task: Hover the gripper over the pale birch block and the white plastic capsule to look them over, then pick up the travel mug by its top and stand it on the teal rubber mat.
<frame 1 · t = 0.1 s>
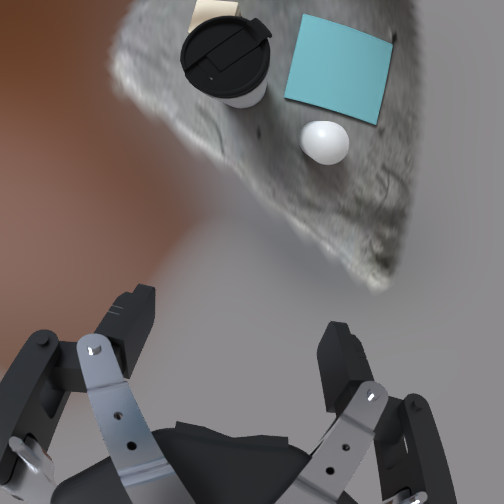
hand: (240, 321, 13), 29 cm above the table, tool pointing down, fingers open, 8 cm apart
white plastic capsule: (316, 139, 36), on the table
teal mat: (340, 67, 31), on the table
birch block: (218, 28, 29), on the table
travel mug: (243, 85, 33), on the table
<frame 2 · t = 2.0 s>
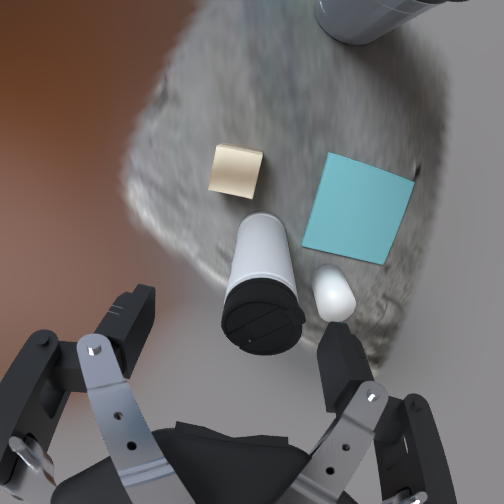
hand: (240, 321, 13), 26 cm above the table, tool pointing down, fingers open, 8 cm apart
white plastic capsule: (327, 279, 42), on the table
teal mat: (359, 211, 37), on the table
birch block: (238, 165, 35), on the table
travel mug: (262, 231, 39), on the table
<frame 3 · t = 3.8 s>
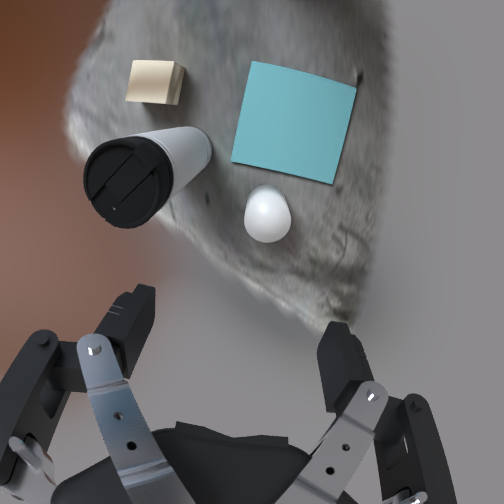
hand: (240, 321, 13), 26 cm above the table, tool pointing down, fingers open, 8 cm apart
white plastic capsule: (266, 202, 37), on the table
teal mat: (294, 121, 32), on the table
birch block: (163, 85, 31), on the table
travel mug: (189, 149, 34), on the table
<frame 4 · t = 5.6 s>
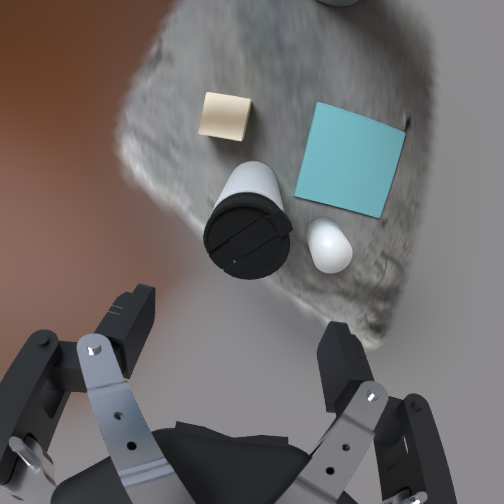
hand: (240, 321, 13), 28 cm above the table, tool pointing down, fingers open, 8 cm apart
white plastic capsule: (322, 233, 41), on the table
teal mat: (351, 161, 36), on the table
birch block: (228, 116, 34), on the table
travel mug: (254, 182, 38), on the table
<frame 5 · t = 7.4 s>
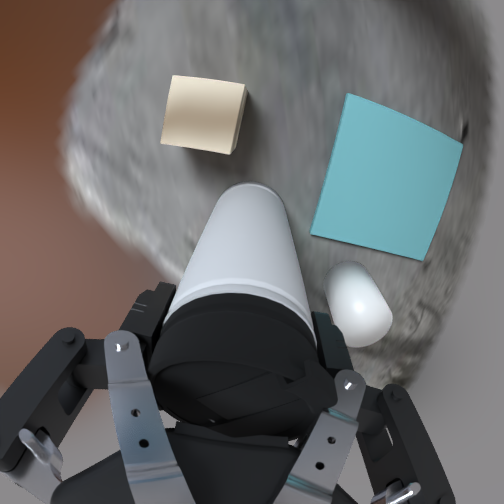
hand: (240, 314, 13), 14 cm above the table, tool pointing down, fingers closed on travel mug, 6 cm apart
white plastic capsule: (346, 282, 29), on the table
teal mat: (392, 183, 24), on the table
birch block: (212, 114, 22), on the table
travel mug: (251, 212, 26), on the table, touching gripper
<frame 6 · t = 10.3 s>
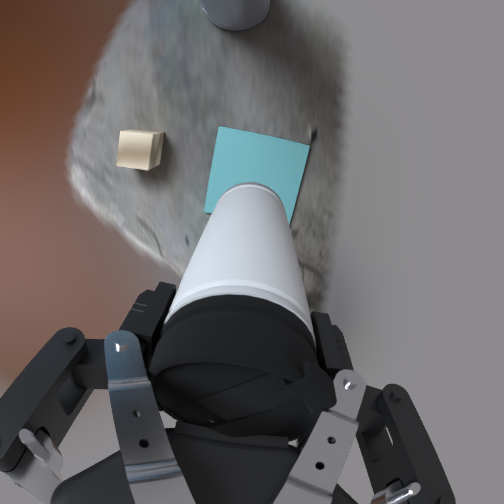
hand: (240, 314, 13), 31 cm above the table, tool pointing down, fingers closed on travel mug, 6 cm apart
teal mat: (255, 178, 41), on the table
birch block: (147, 146, 40), on the table
travel mug: (251, 213, 26), point 17 cm above the table, touching gripper
when the fingers open (16 cm above the table, at t = 13.7 s): travel mug drops 1 cm, resting on teal mat.
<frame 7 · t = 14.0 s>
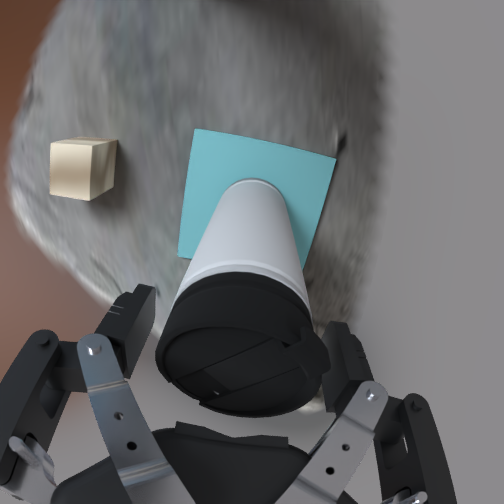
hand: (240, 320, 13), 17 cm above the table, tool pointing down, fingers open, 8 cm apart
teal mat: (251, 207, 28), on the table
birch block: (95, 161, 26), on the table
travel mug: (253, 207, 27), resting on teal mat
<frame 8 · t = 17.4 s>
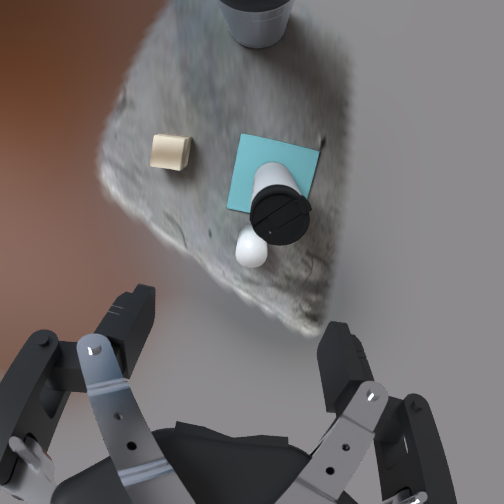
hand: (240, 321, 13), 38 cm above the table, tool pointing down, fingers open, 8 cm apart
white plastic capsule: (252, 236, 52), on the table
teal mat: (272, 178, 47), on the table
birch block: (175, 149, 46), on the table
travel mug: (273, 178, 47), resting on teal mat
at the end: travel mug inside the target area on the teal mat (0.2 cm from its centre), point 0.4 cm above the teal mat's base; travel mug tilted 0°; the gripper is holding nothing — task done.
